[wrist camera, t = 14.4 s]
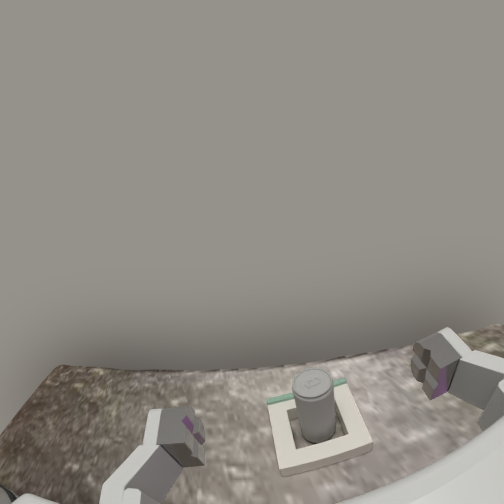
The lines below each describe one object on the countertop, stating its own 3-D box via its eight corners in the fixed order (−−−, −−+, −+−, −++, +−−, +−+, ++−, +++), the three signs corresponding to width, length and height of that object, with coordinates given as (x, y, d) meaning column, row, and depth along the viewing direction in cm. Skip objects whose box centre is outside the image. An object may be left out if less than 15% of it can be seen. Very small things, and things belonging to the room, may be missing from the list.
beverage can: (297, 424, 36) (285, 375, 32) (328, 413, 37) (323, 361, 32) (308, 449, 32) (299, 404, 27) (341, 436, 33) (340, 387, 28)
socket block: (283, 476, 29) (278, 467, 27) (270, 411, 40) (266, 399, 39) (370, 450, 29) (373, 439, 27) (345, 391, 40) (344, 377, 39)
